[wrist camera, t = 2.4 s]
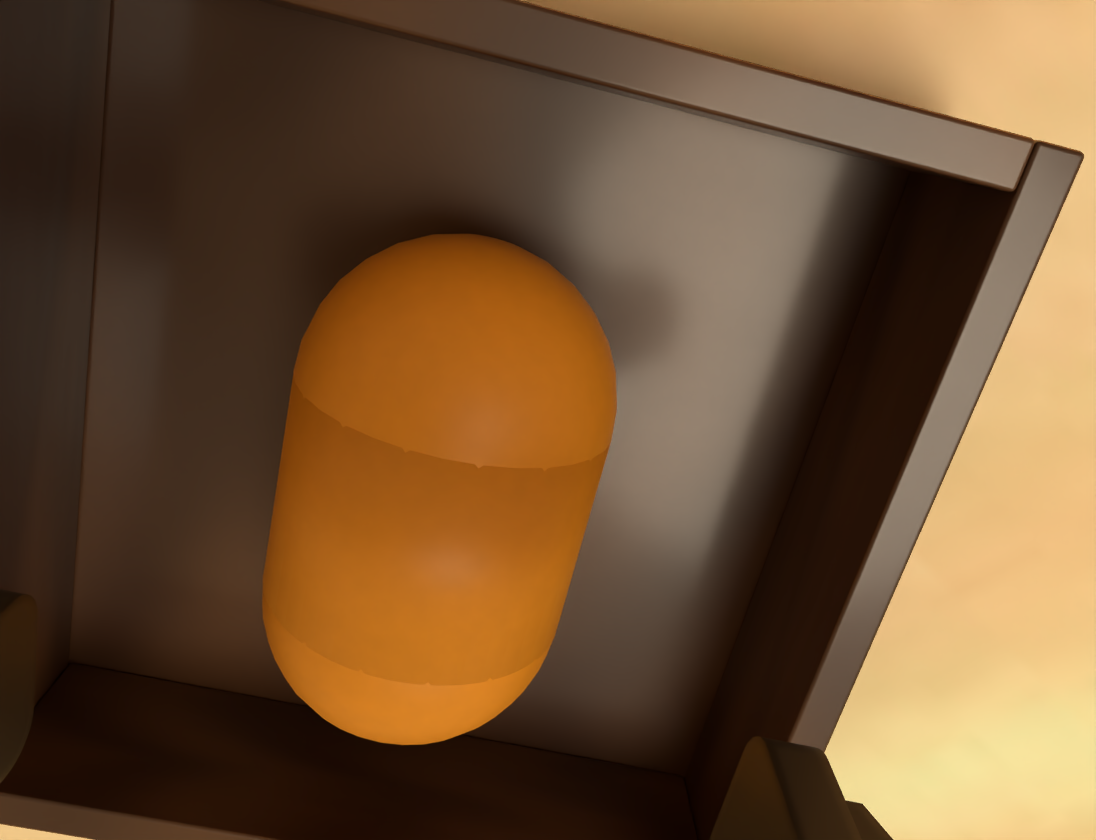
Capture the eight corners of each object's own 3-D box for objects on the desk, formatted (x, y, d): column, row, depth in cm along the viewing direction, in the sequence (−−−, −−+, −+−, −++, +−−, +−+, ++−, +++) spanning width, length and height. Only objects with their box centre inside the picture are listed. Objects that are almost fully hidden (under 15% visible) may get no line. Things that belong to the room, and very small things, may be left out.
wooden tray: (40, 674, 21) (-77, 812, 17) (79, -96, 15) (-81, -162, 11) (703, 796, 23) (740, 949, 19) (957, 138, 17) (1089, 152, 13)
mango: (287, 603, 20) (200, 785, 15) (355, 181, 17) (275, 223, 12) (526, 650, 21) (523, 840, 15) (636, 250, 17) (681, 320, 12)
